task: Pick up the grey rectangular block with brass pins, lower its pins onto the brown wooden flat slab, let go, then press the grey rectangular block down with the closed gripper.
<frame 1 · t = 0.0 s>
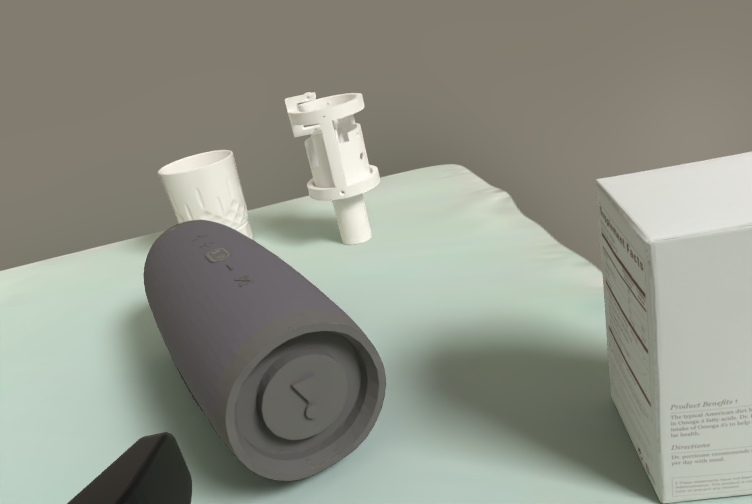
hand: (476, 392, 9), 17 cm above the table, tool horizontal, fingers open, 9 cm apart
bluetooth speaker: (265, 390, 40), on the table
supplement box: (709, 441, 28), on the table
white cup: (224, 248, 67), on the table
white tall cylindrical part: (357, 240, 61), on the table
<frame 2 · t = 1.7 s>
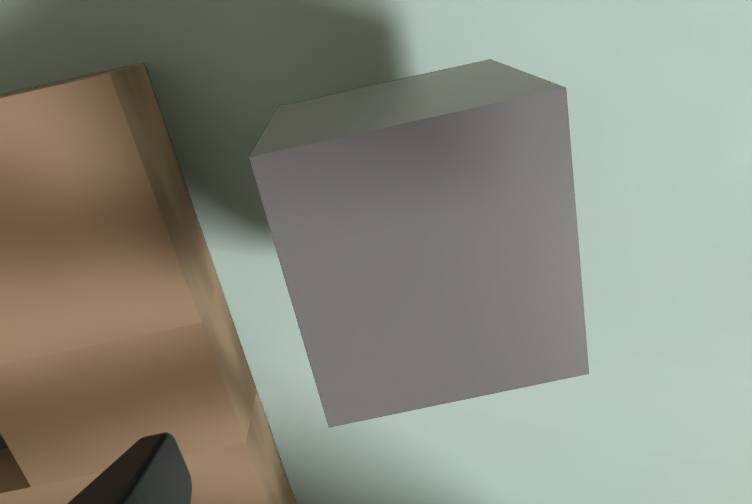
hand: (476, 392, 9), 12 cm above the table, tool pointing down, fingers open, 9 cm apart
grey rectangular block: (397, 169, 20), on the table
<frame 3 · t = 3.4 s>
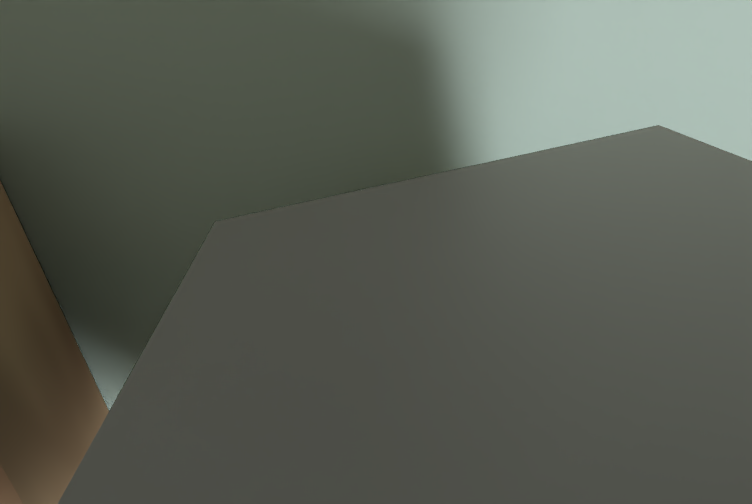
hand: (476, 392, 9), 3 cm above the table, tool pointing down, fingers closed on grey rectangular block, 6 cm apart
grey rectangular block: (442, 297, 12), on the table, touching gripper
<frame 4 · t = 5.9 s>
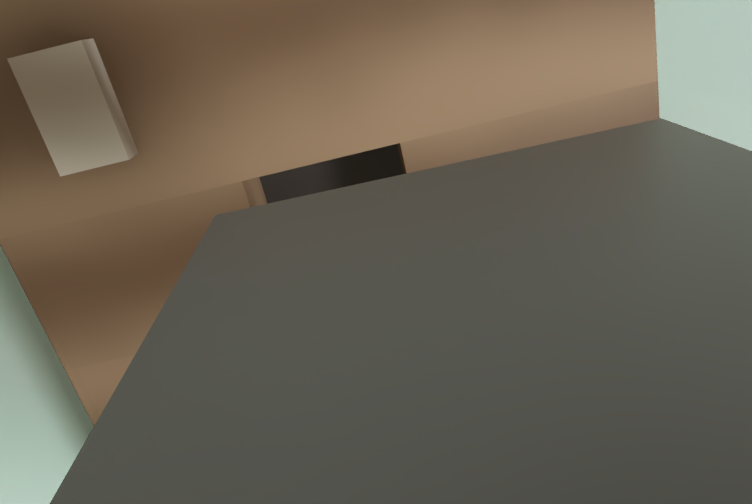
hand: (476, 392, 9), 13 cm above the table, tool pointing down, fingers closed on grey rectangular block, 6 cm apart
grey rectangular block: (443, 293, 11), point 10 cm above the table, touching gripper
brown wooden flat slab: (340, 206, 21), on the table
when the fingers open (4 cm above the table, at t = 8.3 s): grey rectangular block stays where it is, resting on brown wooden flat slab.
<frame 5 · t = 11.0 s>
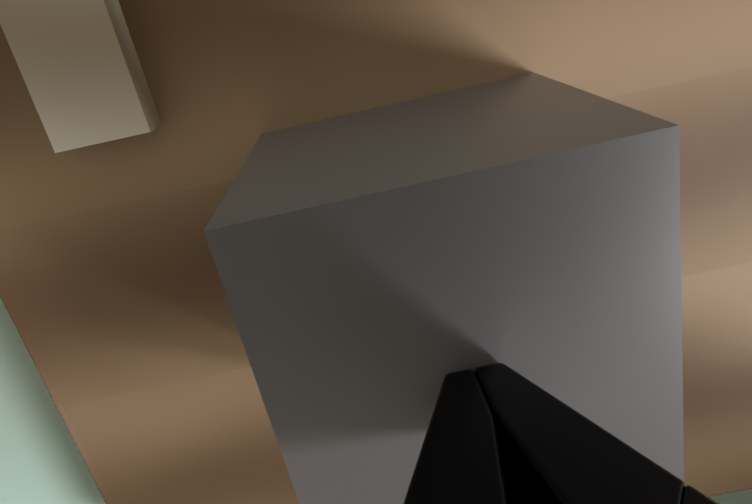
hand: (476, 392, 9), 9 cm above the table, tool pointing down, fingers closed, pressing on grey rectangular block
grey rectangular block: (411, 204, 16), resting on brown wooden flat slab, touching gripper
brown wooden flat slab: (408, 202, 17), on the table
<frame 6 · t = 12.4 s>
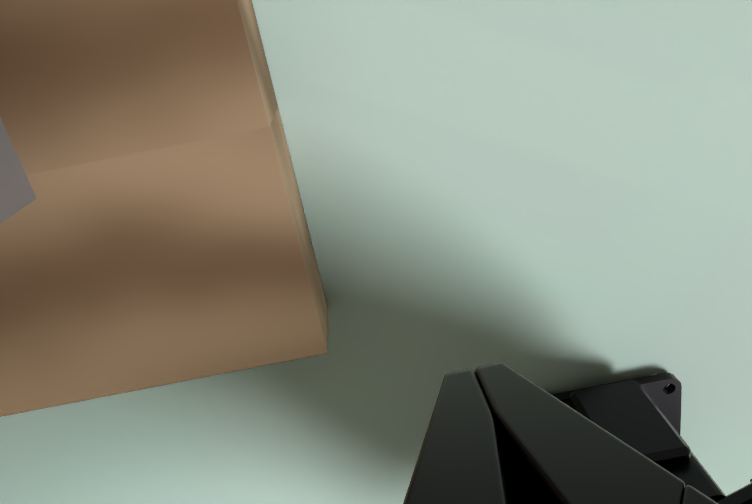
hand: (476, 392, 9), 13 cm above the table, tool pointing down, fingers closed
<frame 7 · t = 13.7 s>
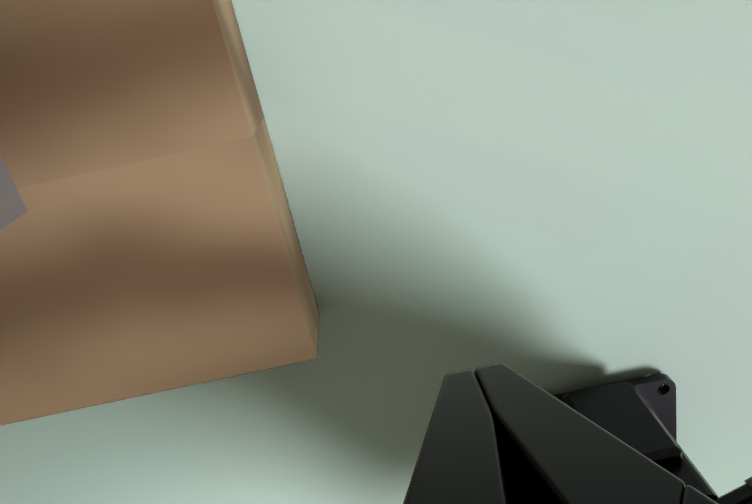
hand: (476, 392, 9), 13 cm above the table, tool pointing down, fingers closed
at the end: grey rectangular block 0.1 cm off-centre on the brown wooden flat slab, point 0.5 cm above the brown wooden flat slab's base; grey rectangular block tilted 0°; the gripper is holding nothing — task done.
